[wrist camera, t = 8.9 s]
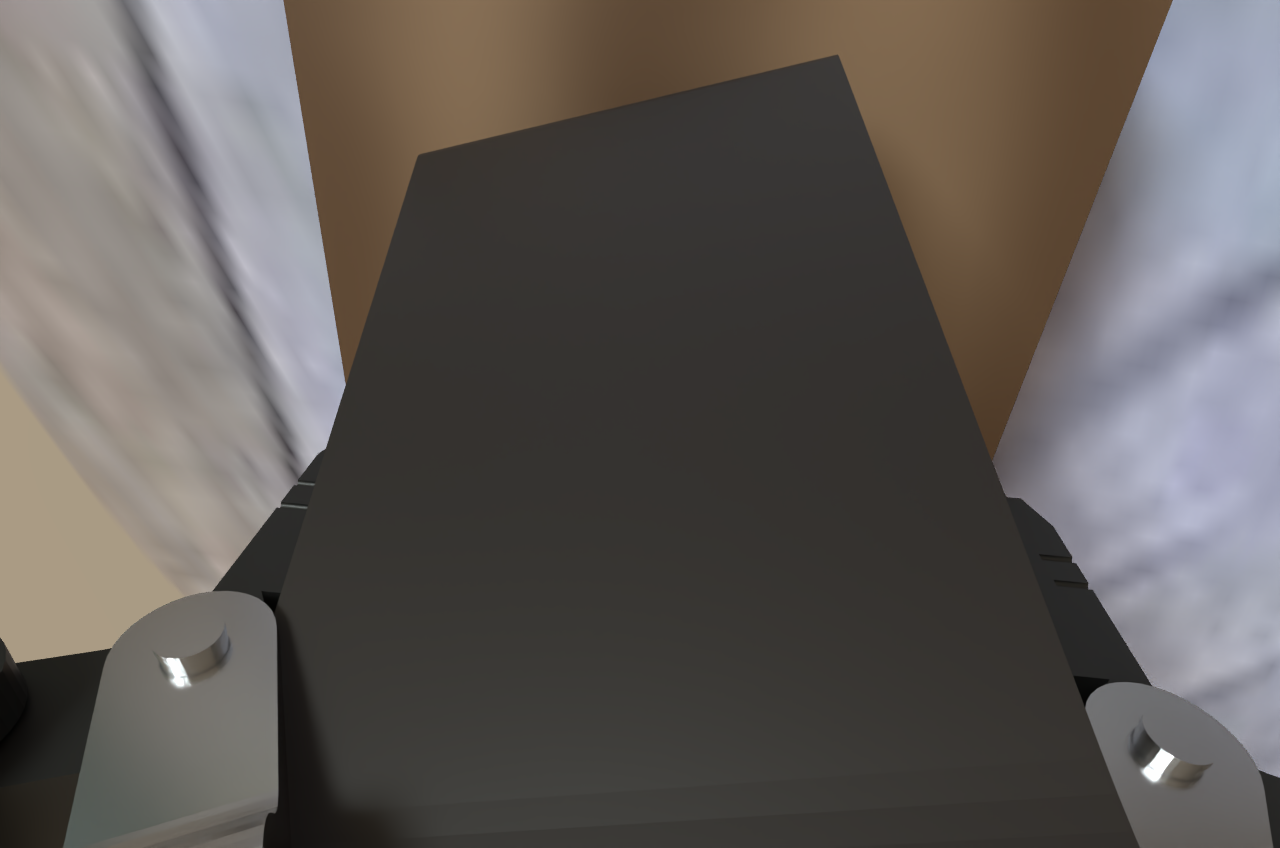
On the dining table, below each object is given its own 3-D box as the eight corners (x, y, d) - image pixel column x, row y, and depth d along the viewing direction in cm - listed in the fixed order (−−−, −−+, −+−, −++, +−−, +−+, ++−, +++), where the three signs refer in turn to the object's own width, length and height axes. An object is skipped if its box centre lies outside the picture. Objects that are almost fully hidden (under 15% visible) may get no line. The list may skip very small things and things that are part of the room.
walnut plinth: (1065, -36, 14) (1185, -35, 10) (890, 512, 21) (928, 621, 17) (370, -92, 14) (265, -109, 11) (427, 468, 21) (375, 567, 18)
